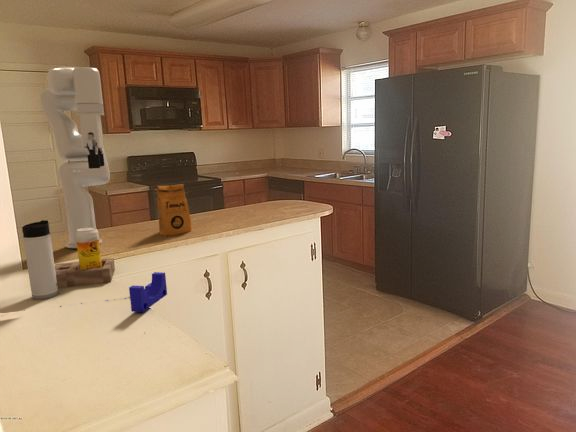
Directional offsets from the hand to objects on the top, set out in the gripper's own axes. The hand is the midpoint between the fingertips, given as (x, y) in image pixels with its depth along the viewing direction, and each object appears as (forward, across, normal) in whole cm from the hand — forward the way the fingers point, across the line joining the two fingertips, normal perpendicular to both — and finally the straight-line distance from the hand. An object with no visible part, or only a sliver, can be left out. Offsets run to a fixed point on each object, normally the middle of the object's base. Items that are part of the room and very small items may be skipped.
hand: (97, 167), depth 140 cm
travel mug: (+32, +22, -14) cm, 41 cm away
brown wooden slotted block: (+32, +10, -6) cm, 34 cm away
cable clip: (+33, +37, +13) cm, 51 cm away
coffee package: (+32, -35, +22) cm, 52 cm away
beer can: (+32, +10, -4) cm, 34 cm away
